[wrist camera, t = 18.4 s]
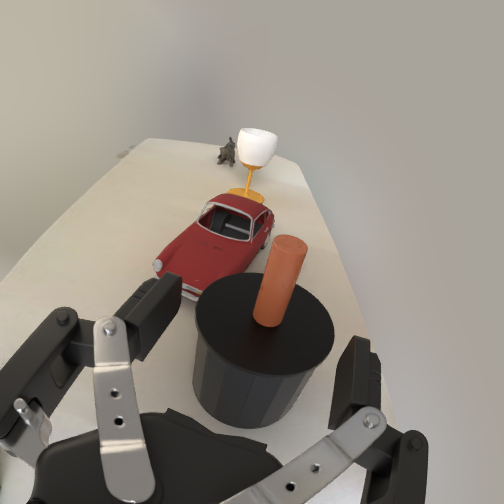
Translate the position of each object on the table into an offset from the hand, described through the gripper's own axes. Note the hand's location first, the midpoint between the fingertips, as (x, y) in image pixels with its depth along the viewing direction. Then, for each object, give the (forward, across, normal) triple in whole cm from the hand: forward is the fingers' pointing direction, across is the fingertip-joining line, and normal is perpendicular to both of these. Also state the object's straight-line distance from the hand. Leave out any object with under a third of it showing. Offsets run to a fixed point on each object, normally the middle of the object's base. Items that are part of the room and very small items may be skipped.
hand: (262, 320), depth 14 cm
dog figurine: (+80, +28, +20) cm, 87 cm away
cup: (+59, +15, +20) cm, 64 cm away
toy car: (+31, +11, +20) cm, 39 cm away
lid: (+10, 0, +10) cm, 14 cm away
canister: (+10, 0, +20) cm, 23 cm away
